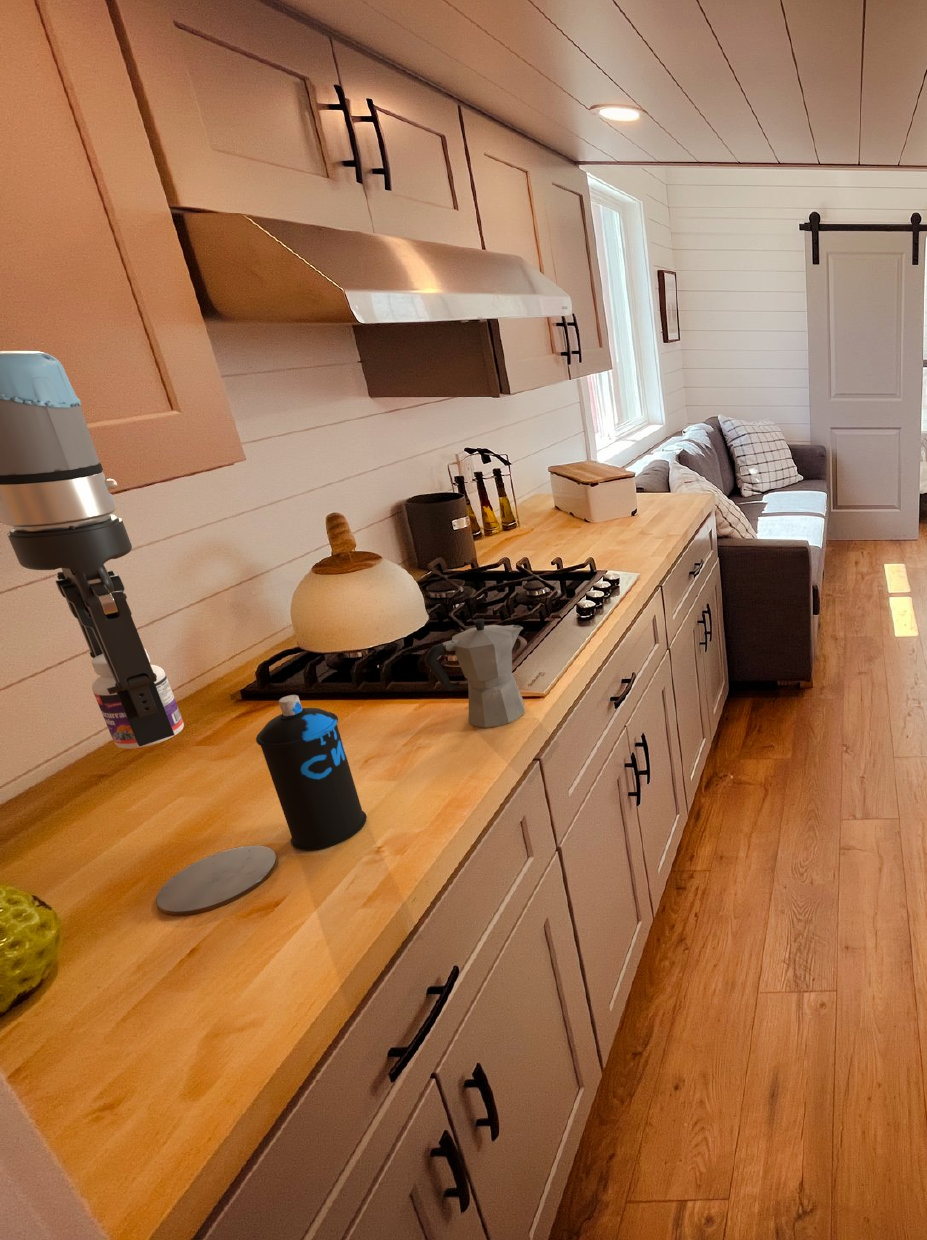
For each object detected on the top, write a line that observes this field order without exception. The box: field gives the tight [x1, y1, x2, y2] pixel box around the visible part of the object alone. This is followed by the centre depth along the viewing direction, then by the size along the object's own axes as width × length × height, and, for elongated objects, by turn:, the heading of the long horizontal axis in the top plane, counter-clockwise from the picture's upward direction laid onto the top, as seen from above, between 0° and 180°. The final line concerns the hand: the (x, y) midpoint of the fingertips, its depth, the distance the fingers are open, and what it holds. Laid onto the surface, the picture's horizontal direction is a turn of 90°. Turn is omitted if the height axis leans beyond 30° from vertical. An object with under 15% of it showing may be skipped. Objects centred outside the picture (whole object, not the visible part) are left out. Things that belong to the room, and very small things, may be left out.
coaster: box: [155, 844, 279, 917], centre depth 85 cm, size 11×11×1 cm
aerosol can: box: [255, 694, 368, 851], centre depth 91 cm, size 8×8×20 cm
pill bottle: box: [91, 647, 185, 750], centre depth 74 cm, size 5×5×10 cm
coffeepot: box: [424, 618, 526, 729], centre depth 118 cm, size 15×9×18 cm, turn 139°
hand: (148, 729), depth 75 cm, fingers closed on pill bottle, 5 cm apart
